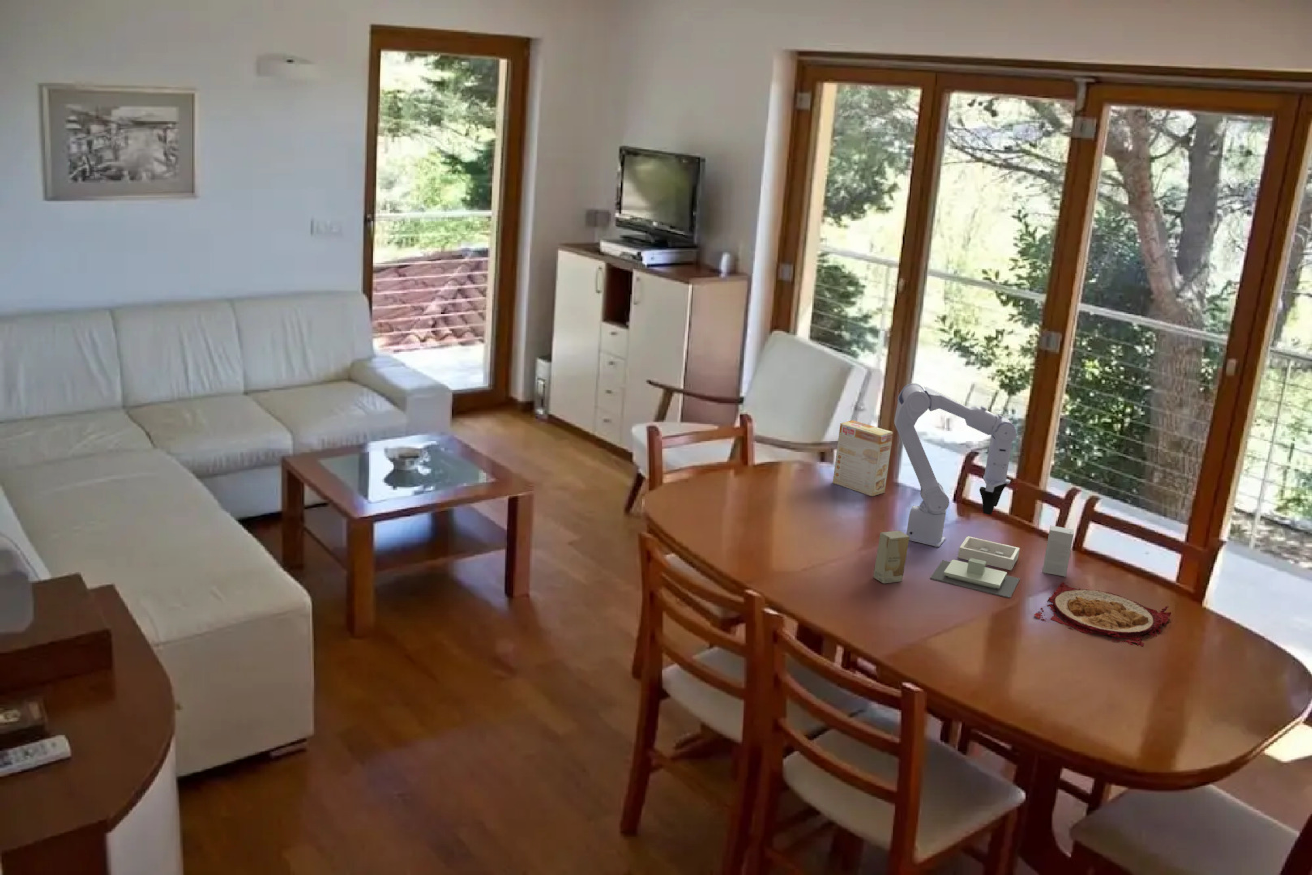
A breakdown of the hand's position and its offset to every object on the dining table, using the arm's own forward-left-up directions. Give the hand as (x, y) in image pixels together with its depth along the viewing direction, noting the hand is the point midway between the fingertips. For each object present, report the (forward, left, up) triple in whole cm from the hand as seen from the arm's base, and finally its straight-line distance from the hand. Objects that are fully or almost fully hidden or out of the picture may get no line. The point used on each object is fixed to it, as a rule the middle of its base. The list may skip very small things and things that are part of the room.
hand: (989, 509), depth 329 cm
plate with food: (+34, -31, -11) cm, 48 cm away
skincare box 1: (-16, -40, -11) cm, 44 cm away
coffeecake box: (-43, +25, -11) cm, 51 cm away
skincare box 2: (+20, -8, -11) cm, 24 cm away
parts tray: (+3, -9, -10) cm, 14 cm away
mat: (+3, -26, -10) cm, 28 cm away
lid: (+3, -26, -9) cm, 28 cm away
